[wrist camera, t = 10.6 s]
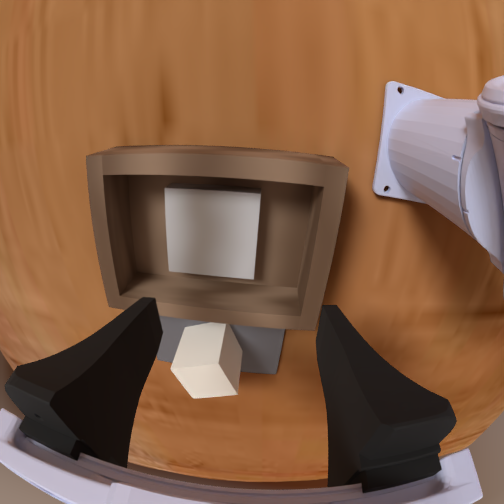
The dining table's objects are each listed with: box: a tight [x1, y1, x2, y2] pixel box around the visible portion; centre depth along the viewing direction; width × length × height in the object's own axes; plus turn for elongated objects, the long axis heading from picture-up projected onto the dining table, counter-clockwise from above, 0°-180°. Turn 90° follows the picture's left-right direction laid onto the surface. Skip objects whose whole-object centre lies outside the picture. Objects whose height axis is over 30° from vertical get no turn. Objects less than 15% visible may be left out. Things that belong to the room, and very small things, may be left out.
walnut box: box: [86, 145, 349, 331], centre depth 19 cm, size 15×11×4 cm
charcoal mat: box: [157, 315, 285, 374], centre depth 25 cm, size 12×8×1 cm, turn 86°
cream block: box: [171, 322, 243, 398], centre depth 23 cm, size 4×4×5 cm
